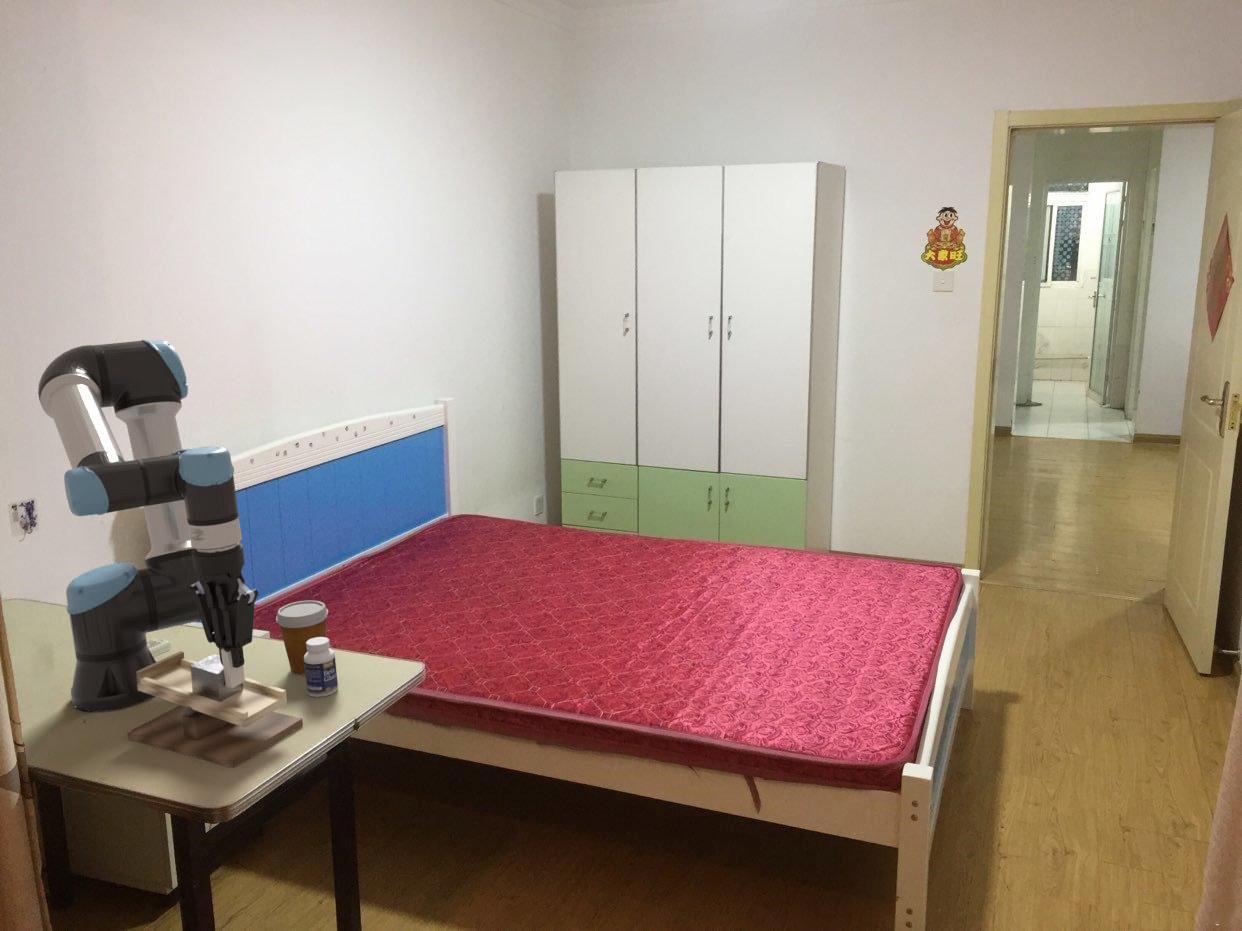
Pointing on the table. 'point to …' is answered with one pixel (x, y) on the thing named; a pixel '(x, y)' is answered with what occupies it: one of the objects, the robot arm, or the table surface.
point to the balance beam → (176, 686)
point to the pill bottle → (320, 668)
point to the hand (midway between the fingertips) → (235, 683)
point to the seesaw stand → (213, 735)
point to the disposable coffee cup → (301, 629)
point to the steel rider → (211, 679)
